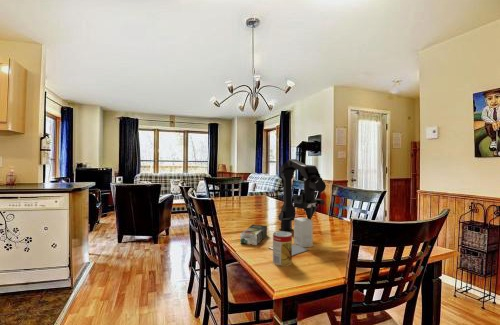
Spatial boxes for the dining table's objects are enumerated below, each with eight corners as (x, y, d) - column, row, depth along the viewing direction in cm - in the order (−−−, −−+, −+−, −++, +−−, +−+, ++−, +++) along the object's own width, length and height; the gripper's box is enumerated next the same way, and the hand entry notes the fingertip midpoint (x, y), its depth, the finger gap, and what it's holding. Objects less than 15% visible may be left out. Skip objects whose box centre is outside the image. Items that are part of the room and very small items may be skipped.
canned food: (295, 262, 111) (295, 233, 111) (284, 267, 105) (284, 237, 105) (280, 257, 116) (280, 230, 116) (269, 262, 110) (269, 233, 110)
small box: (313, 246, 131) (313, 220, 131) (301, 247, 129) (302, 221, 128) (304, 241, 138) (304, 217, 138) (293, 243, 136) (293, 217, 136)
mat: (286, 243, 136) (286, 242, 136) (308, 250, 125) (308, 249, 125) (268, 248, 128) (268, 247, 128) (290, 256, 117) (290, 255, 117)
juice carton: (257, 246, 131) (257, 234, 131) (238, 244, 134) (238, 232, 134) (267, 236, 150) (267, 225, 150) (251, 234, 153) (251, 224, 153)
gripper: (307, 187, 148) (307, 215, 149) (285, 189, 136) (285, 219, 136) (325, 189, 140) (324, 218, 140) (302, 191, 128) (302, 223, 128)
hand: (309, 219), depth 136 cm, fingers closed
